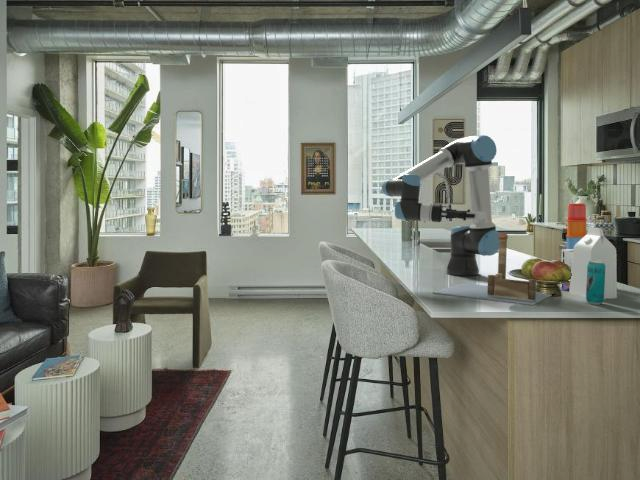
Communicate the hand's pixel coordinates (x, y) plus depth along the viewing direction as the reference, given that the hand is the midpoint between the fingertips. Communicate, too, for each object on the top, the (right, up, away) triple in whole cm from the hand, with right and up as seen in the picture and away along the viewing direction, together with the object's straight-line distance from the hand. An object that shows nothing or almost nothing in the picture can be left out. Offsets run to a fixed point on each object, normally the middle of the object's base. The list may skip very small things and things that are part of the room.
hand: (484, 215), depth 223 cm
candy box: (+38, -30, 0) cm, 49 cm away
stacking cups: (+45, -29, +16) cm, 56 cm away
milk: (+38, -31, -12) cm, 50 cm away
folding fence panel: (+3, -30, -6) cm, 31 cm away
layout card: (+1, -31, -9) cm, 32 cm away
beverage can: (+31, -33, -27) cm, 53 cm away
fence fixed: (+4, -31, -19) cm, 37 cm away
